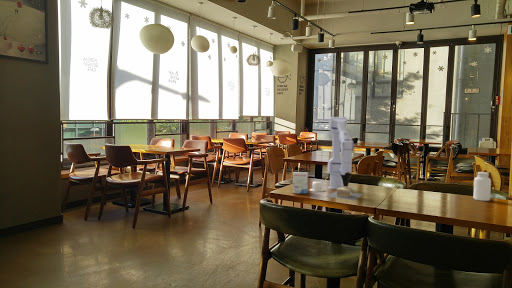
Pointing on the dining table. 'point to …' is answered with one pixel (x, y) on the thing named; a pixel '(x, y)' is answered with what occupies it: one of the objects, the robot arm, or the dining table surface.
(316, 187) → the espresso cup
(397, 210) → the dining table surface
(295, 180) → the ink box
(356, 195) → the mat
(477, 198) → the pill bottle
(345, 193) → the beech block
